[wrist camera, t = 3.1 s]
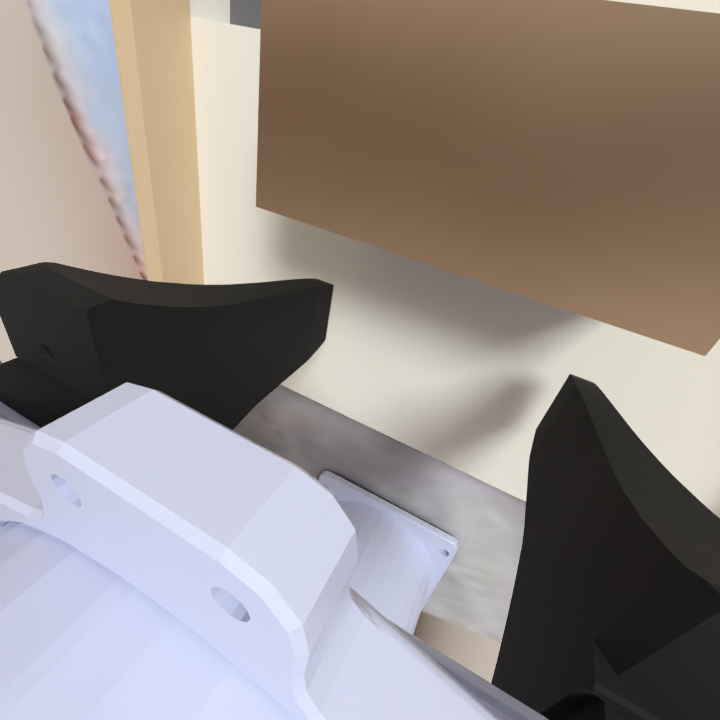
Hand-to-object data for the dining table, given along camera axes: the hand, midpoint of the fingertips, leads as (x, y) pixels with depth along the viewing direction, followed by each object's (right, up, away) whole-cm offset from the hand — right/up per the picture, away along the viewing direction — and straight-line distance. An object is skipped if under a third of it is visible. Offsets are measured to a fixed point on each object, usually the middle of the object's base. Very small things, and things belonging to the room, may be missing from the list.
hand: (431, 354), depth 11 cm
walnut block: (+2, +5, -2) cm, 6 cm away
